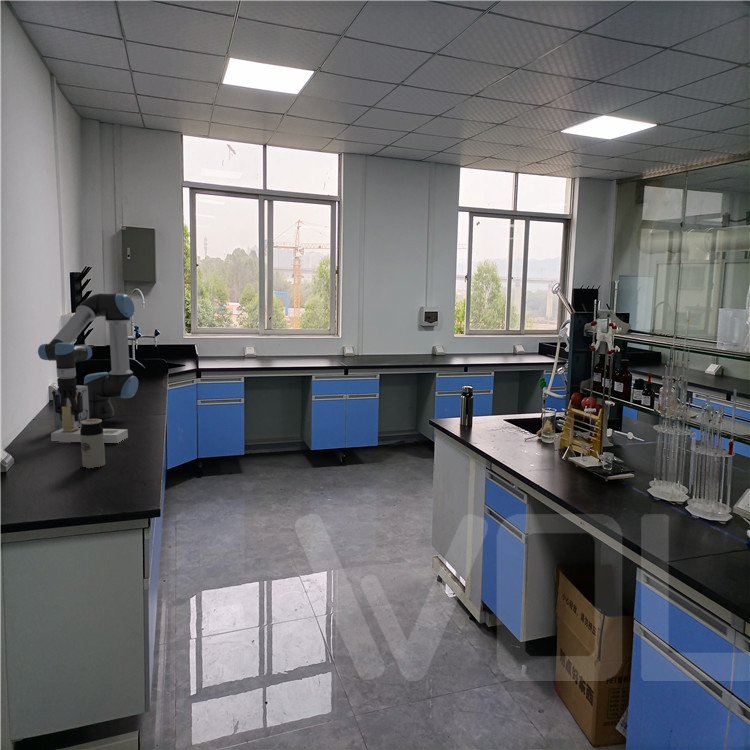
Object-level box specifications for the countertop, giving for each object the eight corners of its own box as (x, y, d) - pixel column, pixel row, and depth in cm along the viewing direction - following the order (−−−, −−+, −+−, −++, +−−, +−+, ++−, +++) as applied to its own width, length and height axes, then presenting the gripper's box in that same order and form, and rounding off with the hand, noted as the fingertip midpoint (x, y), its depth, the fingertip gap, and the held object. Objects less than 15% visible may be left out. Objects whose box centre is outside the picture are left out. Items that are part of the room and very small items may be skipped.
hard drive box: (68, 432, 271) (65, 391, 267) (54, 431, 272) (51, 390, 269) (90, 424, 286) (88, 385, 283) (77, 423, 287) (74, 384, 284)
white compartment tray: (64, 436, 264) (64, 427, 263) (128, 437, 262) (127, 429, 262) (51, 441, 254) (50, 433, 253) (117, 443, 253) (116, 435, 252)
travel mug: (97, 461, 228) (94, 417, 225) (109, 464, 224) (106, 420, 221) (78, 466, 221) (75, 421, 218) (90, 470, 217) (87, 424, 215)
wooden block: (68, 430, 260) (66, 404, 258) (77, 430, 260) (75, 405, 258) (63, 432, 256) (61, 406, 254) (72, 432, 256) (70, 406, 254)
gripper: (42, 378, 251) (46, 429, 255) (80, 379, 250) (84, 430, 254) (53, 375, 258) (57, 425, 262) (89, 376, 257) (93, 426, 261)
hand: (70, 428), depth 258 cm, fingers closed on wooden block, 4 cm apart
